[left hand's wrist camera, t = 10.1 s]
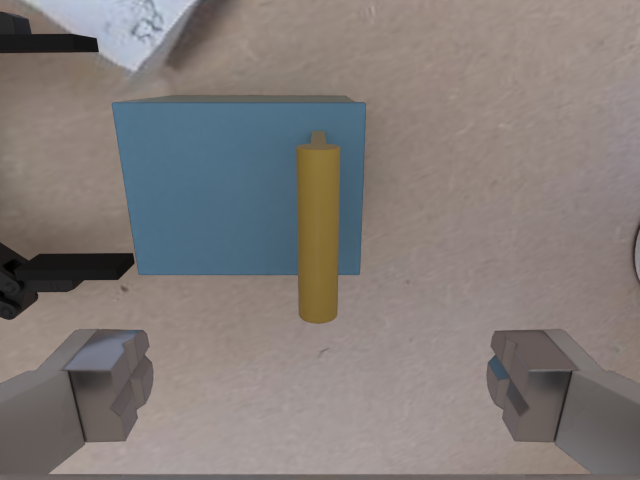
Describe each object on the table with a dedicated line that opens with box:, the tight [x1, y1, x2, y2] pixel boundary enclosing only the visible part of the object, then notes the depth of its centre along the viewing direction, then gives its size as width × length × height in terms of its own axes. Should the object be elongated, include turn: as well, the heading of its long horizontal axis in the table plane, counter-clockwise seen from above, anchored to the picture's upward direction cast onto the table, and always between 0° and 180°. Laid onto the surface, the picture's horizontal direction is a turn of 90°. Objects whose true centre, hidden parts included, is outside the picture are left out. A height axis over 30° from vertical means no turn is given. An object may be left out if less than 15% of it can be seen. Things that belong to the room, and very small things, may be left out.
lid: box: [112, 102, 366, 323], centre depth 21 cm, size 13×10×8 cm
